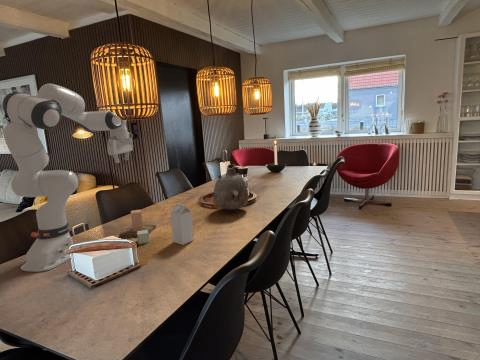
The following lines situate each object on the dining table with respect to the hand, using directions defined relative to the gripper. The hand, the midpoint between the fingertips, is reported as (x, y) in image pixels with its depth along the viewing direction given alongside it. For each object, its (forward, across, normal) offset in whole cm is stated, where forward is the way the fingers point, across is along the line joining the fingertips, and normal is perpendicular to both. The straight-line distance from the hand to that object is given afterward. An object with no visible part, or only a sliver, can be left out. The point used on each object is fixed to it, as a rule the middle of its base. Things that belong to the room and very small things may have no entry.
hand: (122, 161), depth 169 cm
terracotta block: (+36, -8, -9) cm, 38 cm away
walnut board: (+37, -8, -9) cm, 39 cm away
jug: (+37, +30, -53) cm, 71 cm away
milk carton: (+37, -19, -38) cm, 57 cm away
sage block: (+37, -20, -18) cm, 46 cm away
